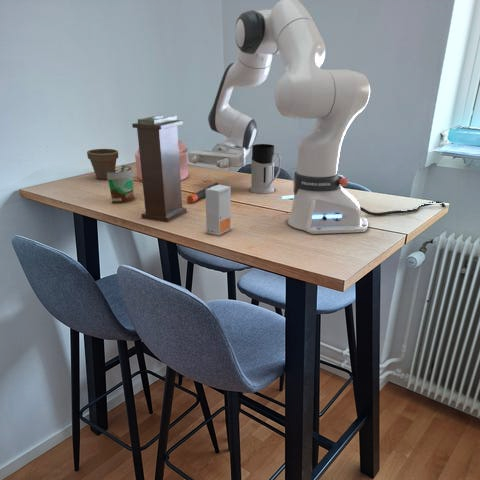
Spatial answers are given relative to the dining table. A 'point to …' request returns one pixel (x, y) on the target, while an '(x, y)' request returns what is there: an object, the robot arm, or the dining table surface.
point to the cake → (181, 159)
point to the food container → (121, 184)
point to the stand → (160, 167)
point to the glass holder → (263, 168)
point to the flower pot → (103, 161)
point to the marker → (199, 194)
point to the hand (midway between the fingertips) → (206, 162)
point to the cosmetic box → (218, 209)
